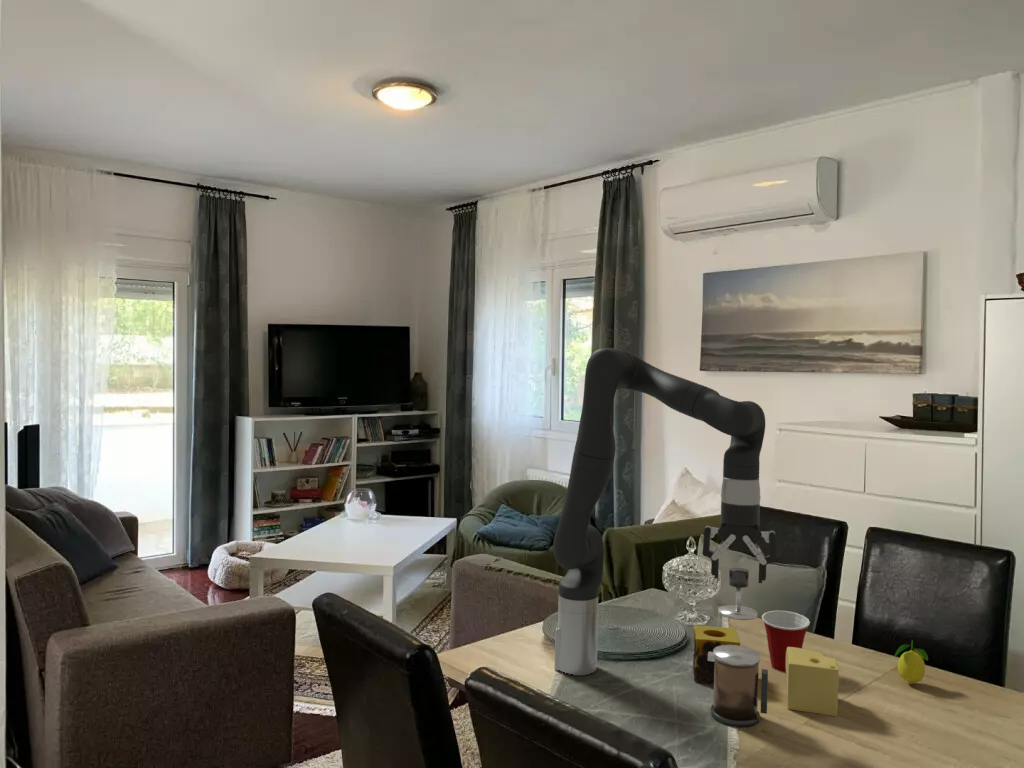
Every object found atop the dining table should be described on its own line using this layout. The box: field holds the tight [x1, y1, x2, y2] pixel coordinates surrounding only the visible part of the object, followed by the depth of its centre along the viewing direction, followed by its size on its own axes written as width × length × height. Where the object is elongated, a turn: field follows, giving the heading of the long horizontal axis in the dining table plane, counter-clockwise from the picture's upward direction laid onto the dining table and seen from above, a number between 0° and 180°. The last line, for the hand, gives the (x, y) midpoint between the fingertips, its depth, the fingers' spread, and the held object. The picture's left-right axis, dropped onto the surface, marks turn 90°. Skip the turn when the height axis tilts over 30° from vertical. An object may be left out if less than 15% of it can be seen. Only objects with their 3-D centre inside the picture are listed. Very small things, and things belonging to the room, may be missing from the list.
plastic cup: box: [761, 610, 811, 673], centre depth 186 cm, size 11×11×12 cm
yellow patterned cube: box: [692, 624, 741, 685], centre depth 180 cm, size 10×10×10 cm
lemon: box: [894, 639, 929, 685], centre depth 178 cm, size 7×6×10 cm
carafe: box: [708, 645, 769, 728], centre depth 159 cm, size 12×10×13 cm
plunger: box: [717, 567, 758, 621], centre depth 159 cm, size 8×8×9 cm
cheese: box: [785, 647, 840, 717], centre depth 166 cm, size 10×11×10 cm
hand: (738, 580), depth 159 cm, fingers open, 8 cm apart
